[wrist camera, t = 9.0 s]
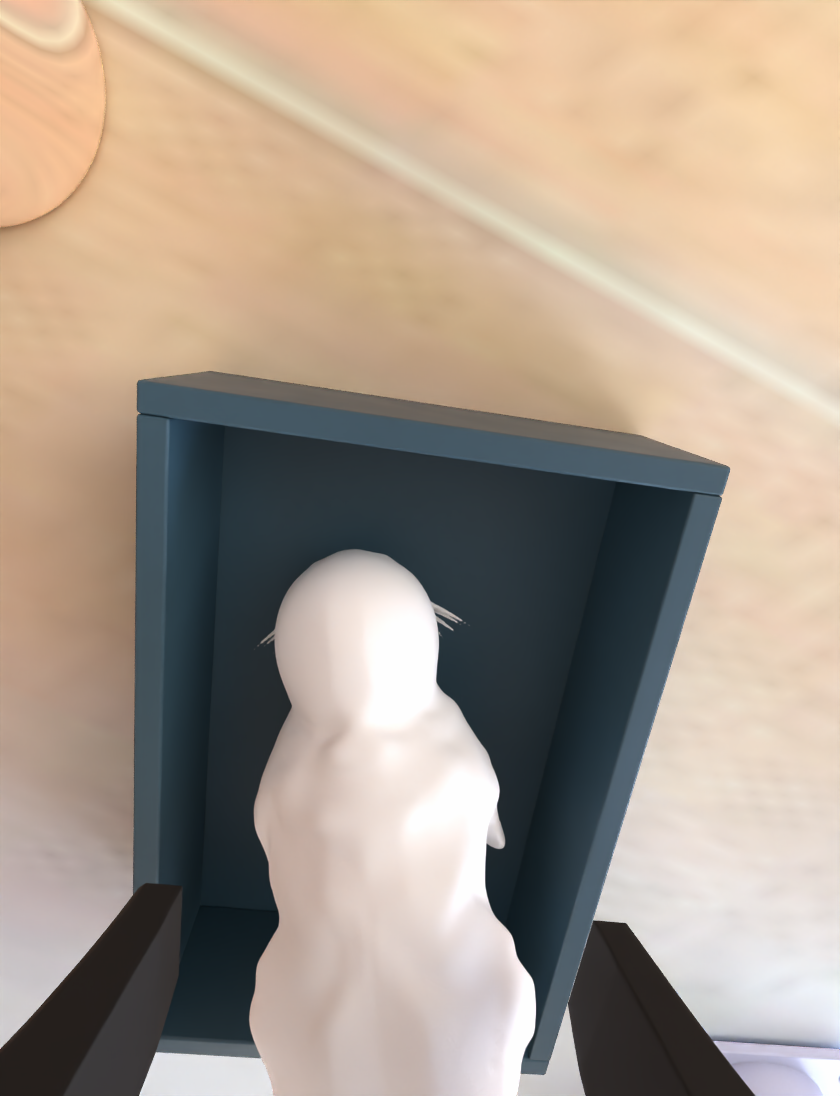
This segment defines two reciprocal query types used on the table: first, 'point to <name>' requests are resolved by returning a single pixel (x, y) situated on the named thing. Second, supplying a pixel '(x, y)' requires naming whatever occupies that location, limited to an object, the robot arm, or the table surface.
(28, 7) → the beige tall cylinder
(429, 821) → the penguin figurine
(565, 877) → the bin
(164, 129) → the table surface
